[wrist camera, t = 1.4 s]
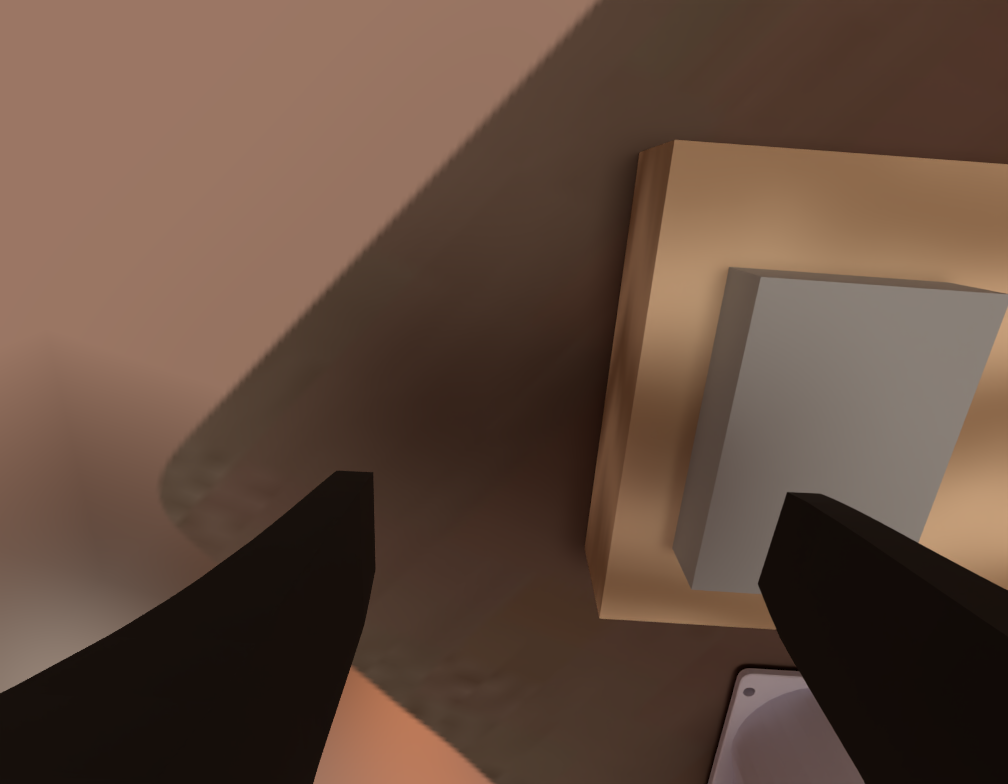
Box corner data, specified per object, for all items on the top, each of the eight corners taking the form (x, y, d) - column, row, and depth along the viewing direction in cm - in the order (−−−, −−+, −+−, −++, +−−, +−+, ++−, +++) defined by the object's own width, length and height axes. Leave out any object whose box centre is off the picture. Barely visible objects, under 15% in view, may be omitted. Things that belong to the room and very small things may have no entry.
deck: (920, 570, 23) (1002, 644, 19) (584, 547, 23) (599, 618, 19) (1070, 183, 18) (1221, 180, 14) (639, 152, 18) (674, 139, 14)
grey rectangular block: (855, 560, 18) (895, 602, 16) (672, 547, 18) (691, 589, 16) (948, 282, 15) (1011, 294, 13) (729, 266, 15) (761, 277, 13)
